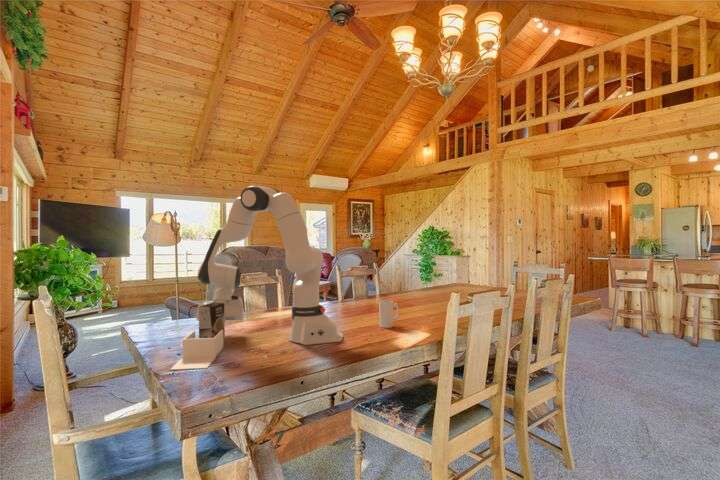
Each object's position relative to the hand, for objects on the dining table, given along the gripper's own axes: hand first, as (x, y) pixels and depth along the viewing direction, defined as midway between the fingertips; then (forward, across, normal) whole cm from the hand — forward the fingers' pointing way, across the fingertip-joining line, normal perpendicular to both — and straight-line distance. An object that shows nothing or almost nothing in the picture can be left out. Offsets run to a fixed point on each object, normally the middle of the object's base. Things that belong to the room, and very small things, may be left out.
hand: (217, 327), depth 169 cm
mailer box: (+23, 0, -16) cm, 28 cm away
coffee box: (+10, 0, -3) cm, 10 cm away
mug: (-3, +77, +10) cm, 78 cm away
